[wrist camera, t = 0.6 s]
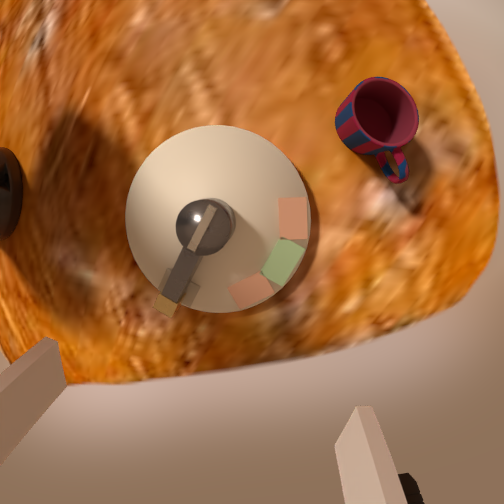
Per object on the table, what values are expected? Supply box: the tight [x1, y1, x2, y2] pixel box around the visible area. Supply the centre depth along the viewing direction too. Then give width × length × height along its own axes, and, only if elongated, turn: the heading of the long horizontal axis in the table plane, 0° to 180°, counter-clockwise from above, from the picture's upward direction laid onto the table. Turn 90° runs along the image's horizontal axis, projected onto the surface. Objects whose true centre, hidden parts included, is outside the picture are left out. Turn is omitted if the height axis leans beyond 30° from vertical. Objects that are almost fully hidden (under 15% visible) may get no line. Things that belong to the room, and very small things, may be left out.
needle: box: [153, 198, 236, 318], centre depth 29 cm, size 12×5×4 cm, turn 151°
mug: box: [335, 77, 419, 184], centre depth 25 cm, size 7×10×7 cm
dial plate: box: [125, 125, 311, 313], centre depth 31 cm, size 20×20×2 cm
